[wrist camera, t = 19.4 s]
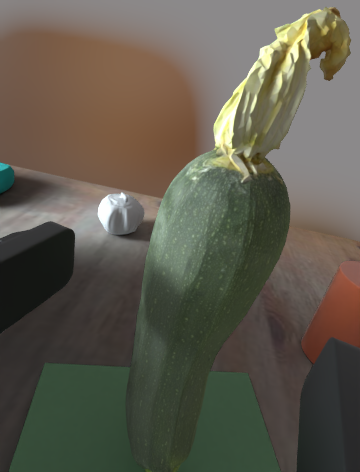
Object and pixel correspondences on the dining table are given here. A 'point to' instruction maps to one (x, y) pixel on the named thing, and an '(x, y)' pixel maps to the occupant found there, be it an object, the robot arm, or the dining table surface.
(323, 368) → the robot arm
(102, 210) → the garlic
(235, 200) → the vegetable
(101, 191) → the dining table surface
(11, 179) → the spray bottle
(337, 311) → the orange cylinder block
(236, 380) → the green mat
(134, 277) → the dining table surface
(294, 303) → the dining table surface
